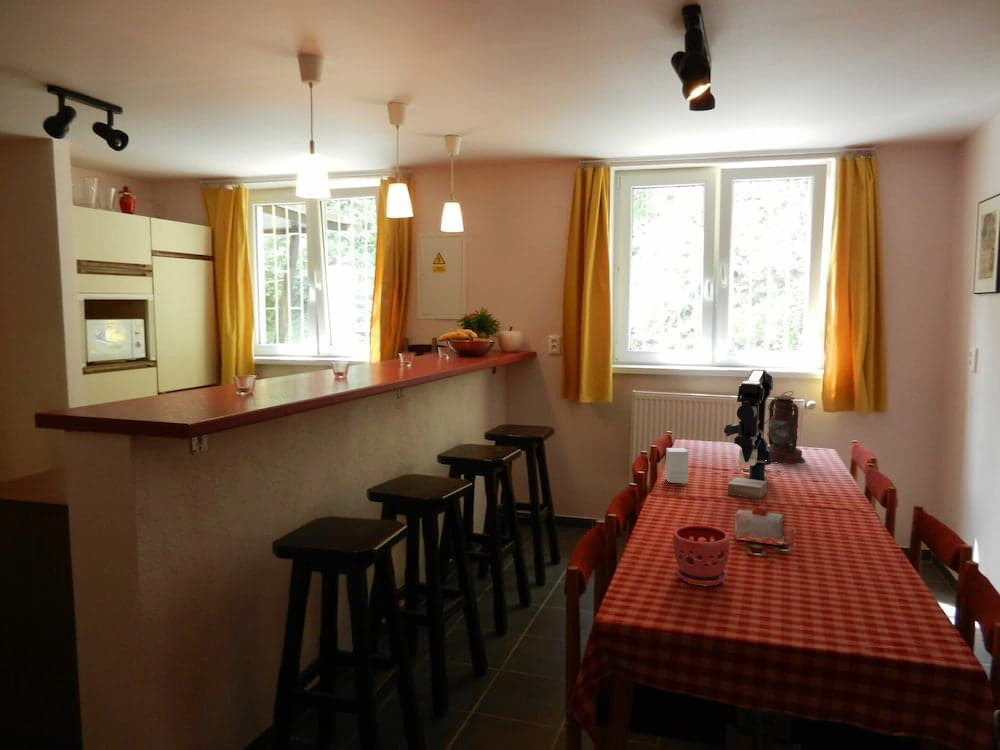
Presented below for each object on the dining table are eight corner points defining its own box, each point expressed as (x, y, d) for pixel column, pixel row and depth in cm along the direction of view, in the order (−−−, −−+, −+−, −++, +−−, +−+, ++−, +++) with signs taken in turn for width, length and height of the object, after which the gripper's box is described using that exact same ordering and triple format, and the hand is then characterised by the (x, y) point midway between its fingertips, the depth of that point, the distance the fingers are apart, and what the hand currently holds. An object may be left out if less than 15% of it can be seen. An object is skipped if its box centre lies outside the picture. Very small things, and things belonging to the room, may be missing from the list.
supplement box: (684, 480, 266) (685, 447, 264) (687, 484, 258) (688, 451, 257) (665, 479, 266) (665, 447, 265) (667, 484, 259) (668, 451, 258)
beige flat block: (735, 487, 254) (735, 477, 254) (766, 492, 248) (766, 481, 248) (727, 494, 245) (728, 483, 244) (760, 499, 239) (760, 487, 239)
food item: (732, 541, 196) (733, 507, 195) (735, 533, 203) (736, 500, 202) (783, 549, 190) (785, 514, 189) (785, 540, 197) (786, 506, 196)
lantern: (749, 456, 308) (752, 389, 306) (784, 453, 314) (787, 388, 311) (778, 465, 290) (781, 395, 288) (814, 462, 296) (818, 393, 293)
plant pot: (685, 565, 177) (687, 520, 176) (736, 578, 169) (737, 531, 168) (662, 581, 167) (664, 533, 166) (715, 595, 159) (717, 545, 158)
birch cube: (742, 461, 249) (742, 447, 249) (756, 463, 246) (757, 449, 246) (739, 464, 245) (739, 450, 244) (753, 465, 242) (754, 451, 242)
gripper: (732, 412, 256) (731, 453, 258) (719, 419, 240) (718, 462, 242) (764, 414, 250) (762, 456, 252) (753, 422, 235) (751, 466, 236)
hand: (748, 460), depth 246 cm, fingers closed on birch cube, 5 cm apart
